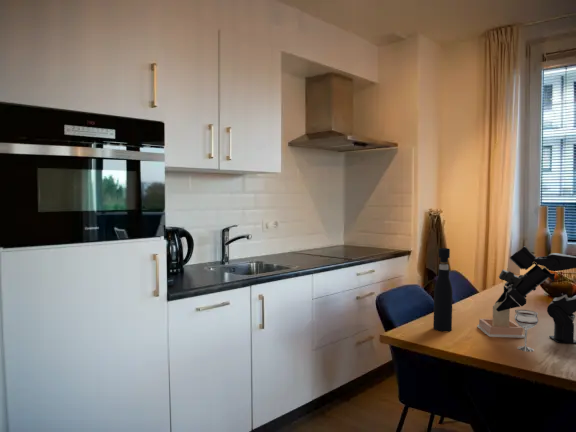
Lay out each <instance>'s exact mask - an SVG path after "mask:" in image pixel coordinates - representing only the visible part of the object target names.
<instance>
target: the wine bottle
mask: <svg viewBox="0 0 576 432" xmlns="http://www.w3.org/2000/svg"><path fill="white" fill-rule="evenodd" d="M450 253H451V249H450V248H448V247H445V248H444V247H441V248H438V258H440V261H439V265H438V266H439V267H438V273H437V274H438V275H437V279H436V281H435V285H434V289H433V329H434V330H435V331H437V330H438V332H443V331H448V332H451V331H452V329H453V328H452V326H453V295H454V294H453V286H452V282H451V279H450V269H449V264H448V261H449V260H448V259H450V256H451V255H450Z"/></svg>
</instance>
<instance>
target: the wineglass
mask: <svg viewBox="0 0 576 432" xmlns="http://www.w3.org/2000/svg"><path fill="white" fill-rule="evenodd" d="M514 312H515V314H514V321H515V323H516V324H517V325H519V326H520V327H522V328H523V330H524V335H525V338H524V345H521V346H517V347H516V349H518V350H519V351H523V352H534V351H535V349H534V348H532V347H529V346H527V339H528V338H527V337H528V331H529V330H530V329H533V328H534V327H535V326H537V325H538V323H539V317H538V315H539V313H538V312H537V311H534V310H529V309H515V310H514Z"/></svg>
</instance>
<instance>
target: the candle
mask: <svg viewBox="0 0 576 432" xmlns="http://www.w3.org/2000/svg"><path fill="white" fill-rule="evenodd" d="M495 303H496V302H495ZM495 303H494V304H493V305H492V319H493V320H492V326H499V327H509V319H510V315H511V314H510V311H511V309H507V310H503V311H499V312H498V311H497V310H496V309H497V307H498V306H499V305H500V304H501V303H502V302H497V303H496V304H495Z"/></svg>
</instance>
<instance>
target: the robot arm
mask: <svg viewBox="0 0 576 432" xmlns="http://www.w3.org/2000/svg"><path fill="white" fill-rule="evenodd" d="M509 259H510V260H511V261H512V263H513V264H514V265H516V266H517V267H518V268H519V269H520V270H525V271H527V270H528V269H529V268H530V269H529V270H528V271H527V272H525V273H524V274H520V275H519V276H518V275H516V274H515V273H514V272H513V271H512V272H511V270H506V269H502V270H501V272H500V274H499V275H498V277H499V279H500V280H502V281H505V283H504V285H503V292H502V293H501V295H499V297H498V299H497V300H496V301H495V302H494V304H496V303H497V302H502V303H501V304H500V305H499V306H498V307H497V309H496V310H497V311H498V312H499V311H503V310H507V309H510V310H511V309H514V308H521V307H523V306H525V305H526V304H527V297H528V296H527V295H528V294H530V293H531V292H533V291H534V292H535V291H536V290H537V288H538V287H539V286H540V285H541V284H543V283H544V282H545V281H547V280H548V279H550V281H552V282H554V281H555V277H556V273H552V272H559V271H560V272H561V271H566V270H567V271H568V270H572V269H576V256H575V255H569V254H565V253H558V252H552V253H549V254H548V255H547V256H542V255H541V256H536V255H535V254H534V253H533V252H532V251H531V250H530V249H529V248H528V247H527V246H523V247H521V249H519V250H518V251H516V252H514V253H513V254H512V255H511V256H510V257H509ZM532 266H533V267H532ZM540 266H542V267H543V268H542V267H540ZM531 267H532V268H531ZM546 311H547V314H548V315H549V317H551V318H552V320H553V323H554V324H553V325H554V326H553V335H549V338H550V339H552V340H553V341H554V342H556V343H559V344H576V340H575V339H574V337H575V336H574V335H575V324H574V320H575V318H576V314H574V313H576V297H568V295H567V294H564V295H561V296H558V297H554V298H553V300H552V301H550V303H549V304H548V306H547V308H546Z"/></svg>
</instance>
